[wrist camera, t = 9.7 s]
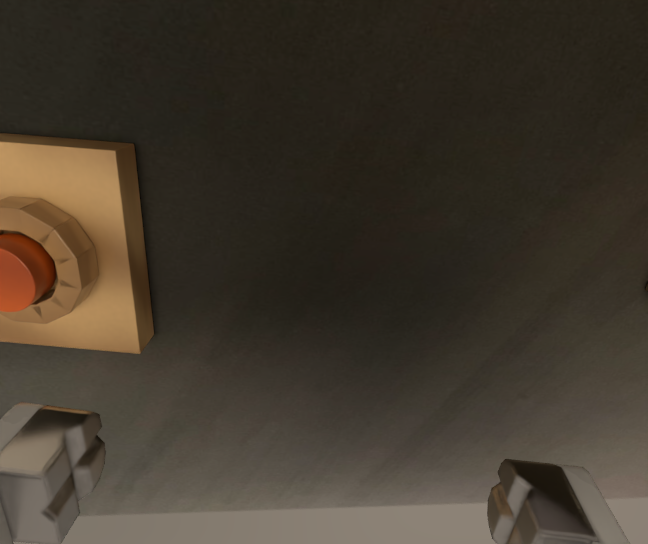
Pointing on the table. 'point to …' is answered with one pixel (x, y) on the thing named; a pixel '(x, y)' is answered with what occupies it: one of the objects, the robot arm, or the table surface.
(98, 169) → the button block
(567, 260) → the table surface
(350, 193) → the table surface
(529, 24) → the table surface
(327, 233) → the table surface
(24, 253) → the red button
